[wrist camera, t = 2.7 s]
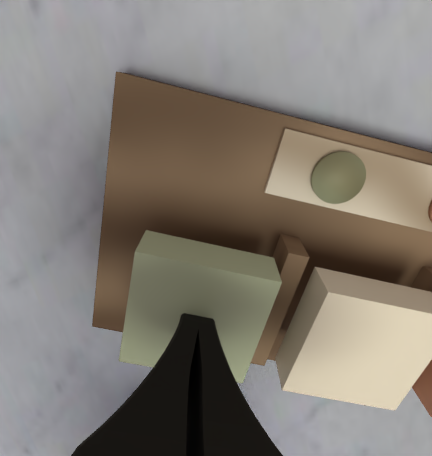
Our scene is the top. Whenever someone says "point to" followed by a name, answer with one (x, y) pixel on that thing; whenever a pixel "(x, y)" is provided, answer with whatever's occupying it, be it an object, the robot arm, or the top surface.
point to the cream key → (356, 340)
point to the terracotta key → (425, 388)
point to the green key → (197, 297)
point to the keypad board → (258, 196)
